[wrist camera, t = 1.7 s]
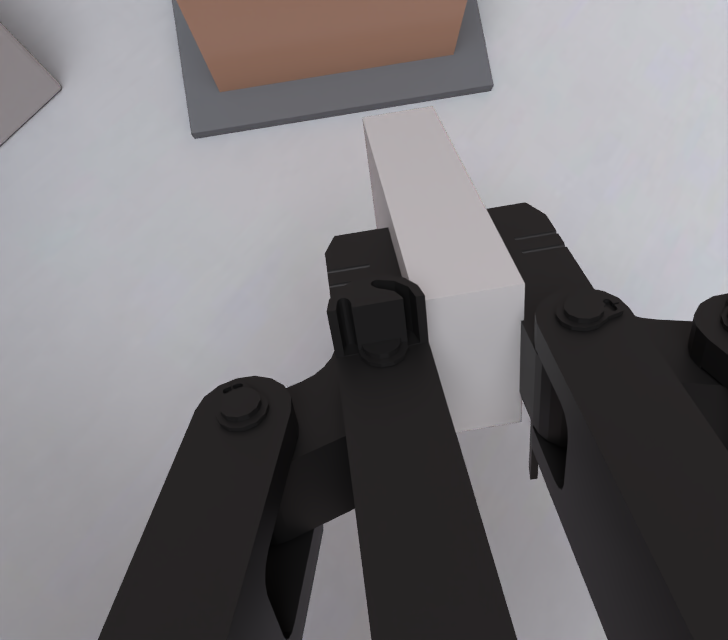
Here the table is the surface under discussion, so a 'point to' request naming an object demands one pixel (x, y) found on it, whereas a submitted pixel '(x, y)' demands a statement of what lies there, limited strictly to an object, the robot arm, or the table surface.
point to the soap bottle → (20, 85)
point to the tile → (316, 36)
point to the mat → (331, 85)
